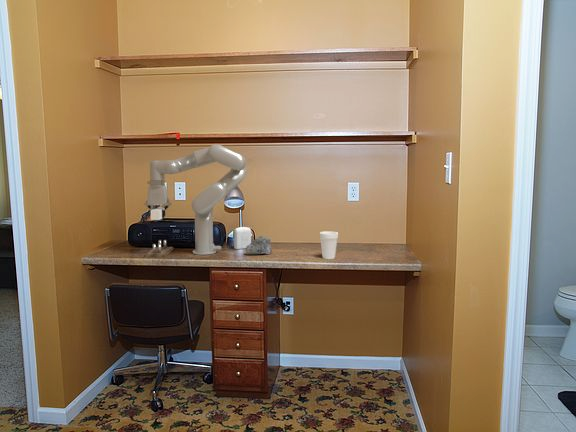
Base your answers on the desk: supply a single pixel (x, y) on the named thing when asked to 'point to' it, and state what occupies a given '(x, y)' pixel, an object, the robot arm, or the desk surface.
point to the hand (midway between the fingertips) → (158, 217)
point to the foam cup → (328, 244)
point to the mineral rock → (260, 246)
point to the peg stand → (159, 250)
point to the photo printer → (242, 237)
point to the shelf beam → (156, 214)
